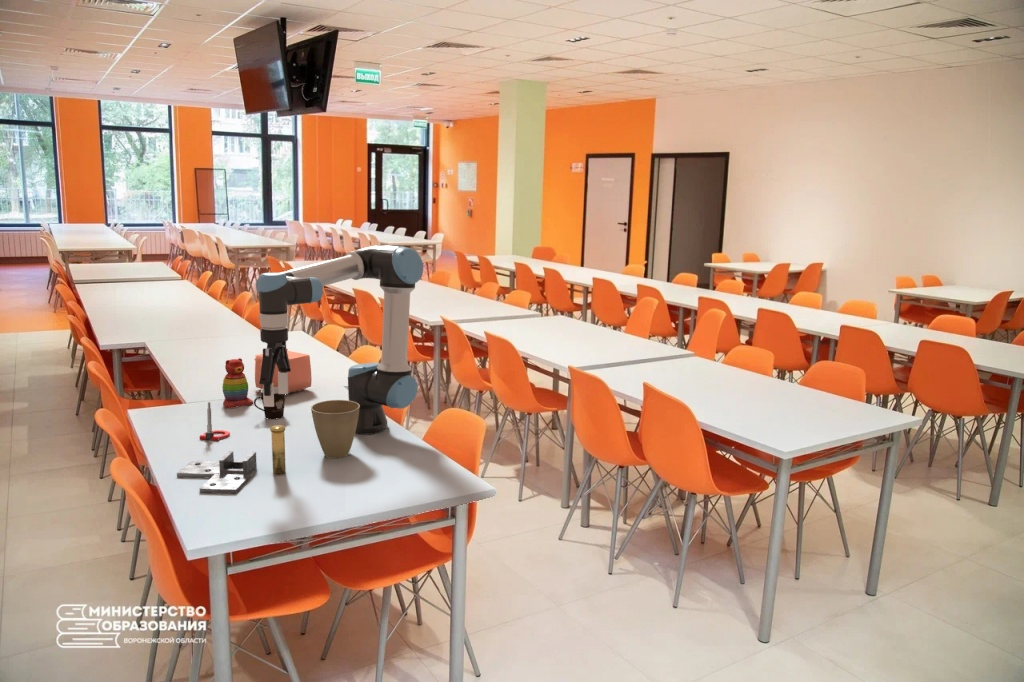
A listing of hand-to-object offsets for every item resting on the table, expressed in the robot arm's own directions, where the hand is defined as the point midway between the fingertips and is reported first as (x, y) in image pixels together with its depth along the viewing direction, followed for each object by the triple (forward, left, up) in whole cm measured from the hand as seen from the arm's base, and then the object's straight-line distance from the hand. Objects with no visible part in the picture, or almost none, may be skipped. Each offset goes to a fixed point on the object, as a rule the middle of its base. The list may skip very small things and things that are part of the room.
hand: (276, 399), depth 219 cm
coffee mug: (+20, -55, -23) cm, 63 cm away
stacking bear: (+38, -71, -23) cm, 84 cm away
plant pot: (-13, -17, -23) cm, 31 cm away
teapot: (+29, -94, -23) cm, 101 cm away
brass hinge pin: (0, 0, -22) cm, 22 cm away
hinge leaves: (+17, +5, -22) cm, 29 cm away
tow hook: (+31, -32, -23) cm, 50 cm away
